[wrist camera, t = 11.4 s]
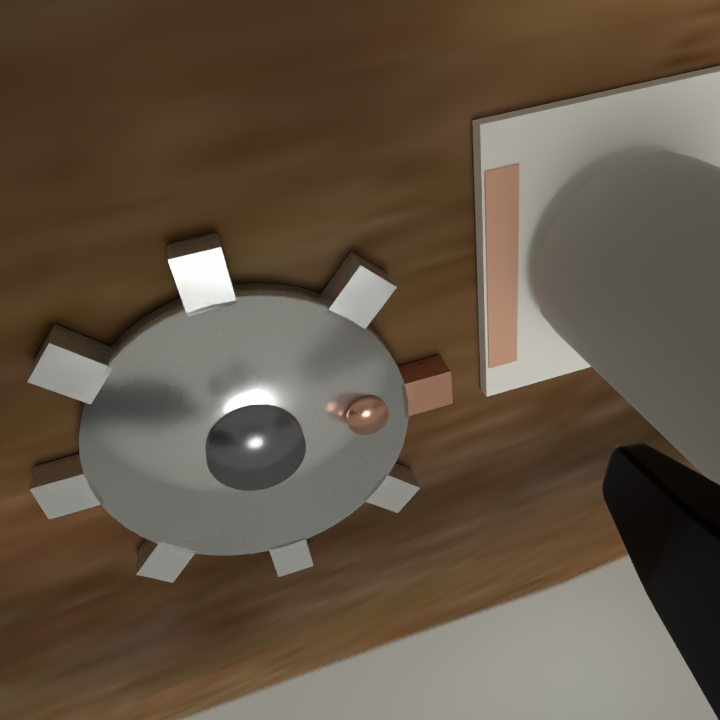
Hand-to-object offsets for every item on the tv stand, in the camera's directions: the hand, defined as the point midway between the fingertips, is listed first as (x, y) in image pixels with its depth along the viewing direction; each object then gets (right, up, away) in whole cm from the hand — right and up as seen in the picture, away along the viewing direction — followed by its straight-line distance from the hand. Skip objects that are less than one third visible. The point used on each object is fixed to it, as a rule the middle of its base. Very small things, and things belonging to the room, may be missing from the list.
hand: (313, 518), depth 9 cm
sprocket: (-4, 0, +15) cm, 16 cm away
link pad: (+10, +7, +15) cm, 20 cm away
